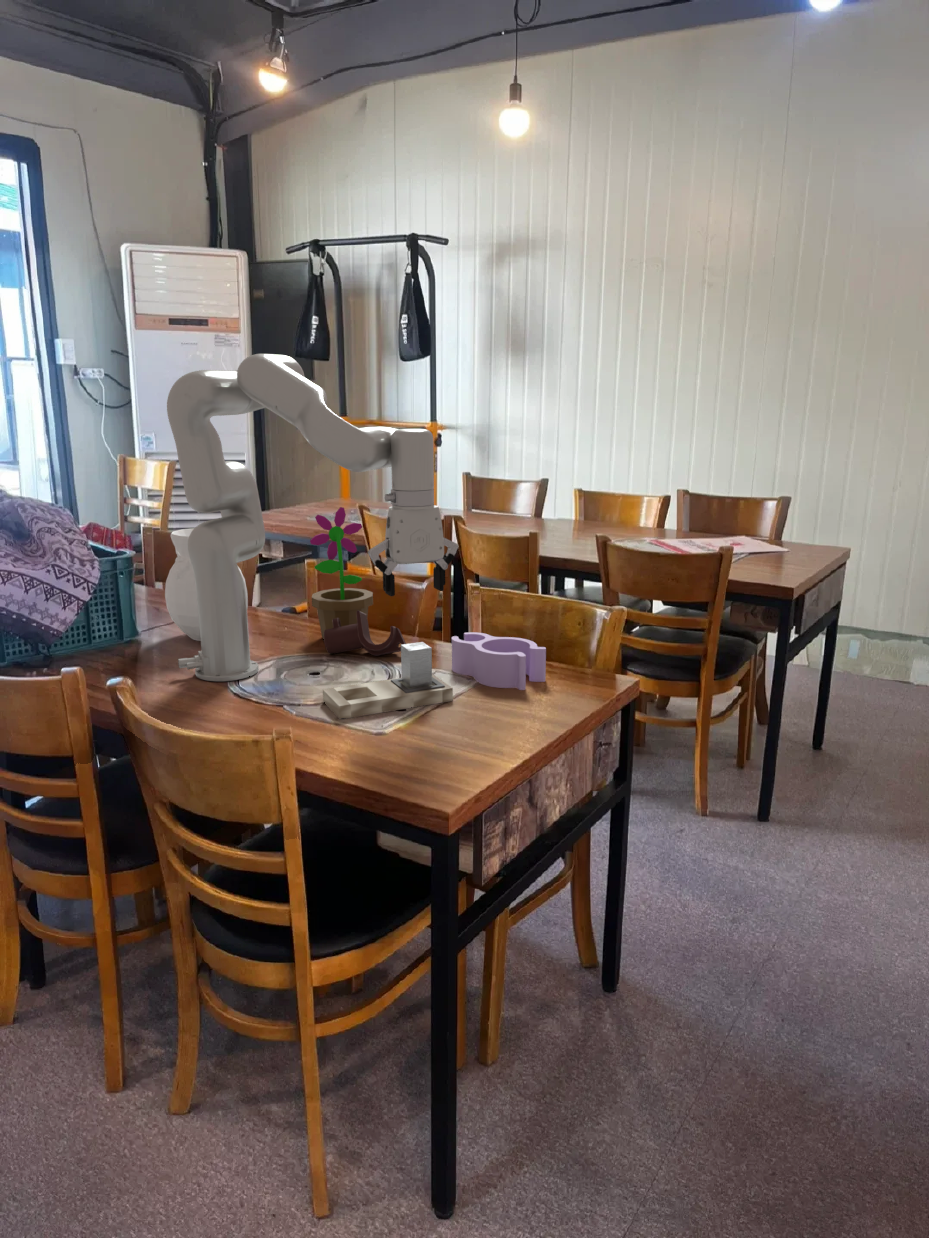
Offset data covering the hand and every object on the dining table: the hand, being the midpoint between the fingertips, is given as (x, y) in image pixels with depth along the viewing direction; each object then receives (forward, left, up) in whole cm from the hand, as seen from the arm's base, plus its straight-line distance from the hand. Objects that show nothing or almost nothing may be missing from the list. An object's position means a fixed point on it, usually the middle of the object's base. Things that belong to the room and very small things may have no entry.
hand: (414, 592), depth 168 cm
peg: (0, 0, -20) cm, 20 cm away
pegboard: (-6, 0, -20) cm, 21 cm away
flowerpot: (+1, +46, -21) cm, 50 cm away
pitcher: (-27, +61, -21) cm, 70 cm away
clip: (+19, +5, -21) cm, 29 cm away
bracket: (+1, +31, -21) cm, 37 cm away
